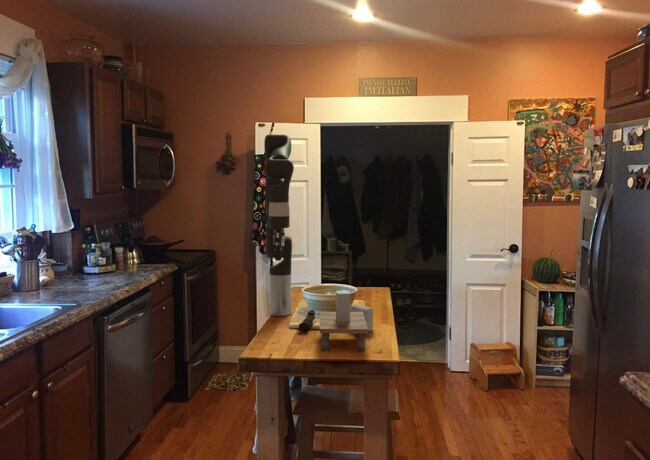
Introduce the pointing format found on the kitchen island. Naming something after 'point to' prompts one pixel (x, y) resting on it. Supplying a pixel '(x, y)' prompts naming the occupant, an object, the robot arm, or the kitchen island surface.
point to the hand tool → (307, 322)
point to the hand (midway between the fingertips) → (279, 258)
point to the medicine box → (365, 314)
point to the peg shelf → (343, 328)
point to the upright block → (343, 306)
